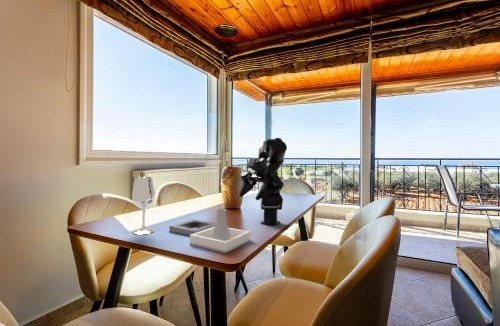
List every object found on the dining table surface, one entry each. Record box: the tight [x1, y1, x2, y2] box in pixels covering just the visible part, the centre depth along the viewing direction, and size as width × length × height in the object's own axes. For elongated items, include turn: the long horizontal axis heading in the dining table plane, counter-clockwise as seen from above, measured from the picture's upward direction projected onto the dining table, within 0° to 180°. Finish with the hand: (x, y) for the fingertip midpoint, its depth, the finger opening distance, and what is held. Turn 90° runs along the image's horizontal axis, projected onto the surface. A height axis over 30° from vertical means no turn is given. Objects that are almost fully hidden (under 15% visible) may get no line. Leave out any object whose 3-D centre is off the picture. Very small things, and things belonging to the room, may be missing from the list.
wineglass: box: [131, 176, 156, 235], centre depth 96 cm, size 8×8×20 cm
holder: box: [168, 219, 216, 237], centre depth 99 cm, size 13×13×2 cm
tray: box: [189, 227, 252, 254], centre depth 85 cm, size 14×14×3 cm
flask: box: [211, 208, 231, 241], centre depth 85 cm, size 7×7×10 cm
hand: (247, 197), depth 92 cm, fingers open, 9 cm apart
